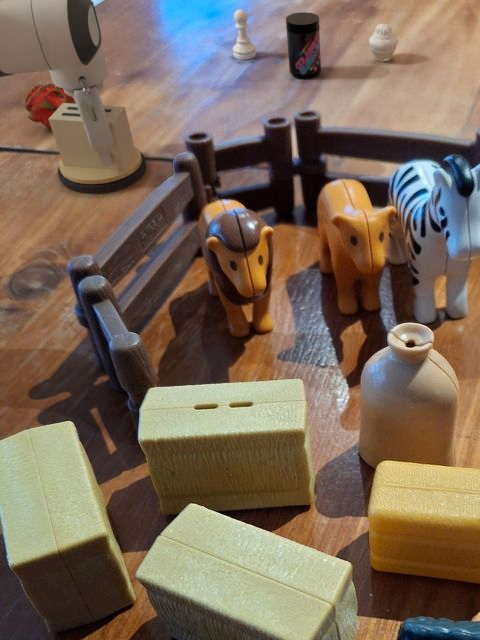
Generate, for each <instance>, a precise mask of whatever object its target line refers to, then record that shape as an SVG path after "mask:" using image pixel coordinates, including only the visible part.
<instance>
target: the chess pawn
mask: <svg viewBox="0 0 480 640" xmlns="http://www.w3.org/2000/svg"><path fill="white" fill-rule="evenodd" d="M233 19H234V21H235V24H234V28H236V29H237V30H238V36H237V38H236V44H234V46H233V47H232V51H233V52H232V55H233V57H234V58H235V60H238V61H239V60H240V61H249V60H252V59H254V58H255V57H256V56H257V51H256V49H257V47H256V46H255V44H253V43H252V42H251V38H250V37H249V36H248V34H247V28H248V27H249V24H248V23H247V21H248V14H247V12H246V11H245V10H244V9H242V8H239V9H236V11H234V13H233Z"/></svg>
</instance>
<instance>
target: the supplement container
mask: <svg viewBox="0 0 480 640" xmlns="http://www.w3.org/2000/svg"><path fill="white" fill-rule="evenodd" d="M285 28H286V39H287V41H286V42H287V53H288V54H287V55H288V68H289V73H290V74H291V76H292V77H294V78H297V79H301V80H308V79H314V78H316V77H318V76H319V75H320V73H321V71H322V61H321V60H322V59H321V36H320V35H321V34H320V28H321V27H320V17H319V15H317V14H315V13H312V12H307V11H305V12H304V11H303V12H302V11H301V12H294V13H291V14H289V15H287V16H286V17H285Z"/></svg>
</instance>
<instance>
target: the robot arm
mask: <svg viewBox="0 0 480 640" xmlns="http://www.w3.org/2000/svg"><path fill="white" fill-rule="evenodd" d="M40 72H49V75H50V78H51V82H52V84H54V85H55V87H57V86H58V87H59V88H63V90H64V92H65V94H67V95H69V96H73V99H74V101H75V103H76V105H77V107H78V110H79V113H80V116H81V119H82V122H83V125H84V129H85V132H86V135H87V137H88V140H89V143H90V146H91V148H92V149H93V150H94V151H97V152H98V155H99V158H100V161H101V164H102V166H104V167H105V166H110V165H112V159H111V156H110V149H109V148H112V147H113V146H114V142H113V138H112V134H111V130H110V127H109V123H108V120H107V117H106V113H105V110H104V106H105V105H104V103H103V101H102V98H101V96H100V92H101V91H102V90H103V89H104V87H105V86H104V85H105V84H104V81H106V80H107V78H108V77H109V69H108V66H107V62H106V58H105V54H104V51H103V47H102V31H101V27H100V23H99V20H98V15H97V12H96V8H95V6H94V2H93V0H0V78H3V77H9V76H13V75H16V74H17V75H18V74H27V73H28V74H29V73H40ZM103 105H104V106H103ZM96 119H97V121H96ZM94 120H95V121H94Z"/></svg>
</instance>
